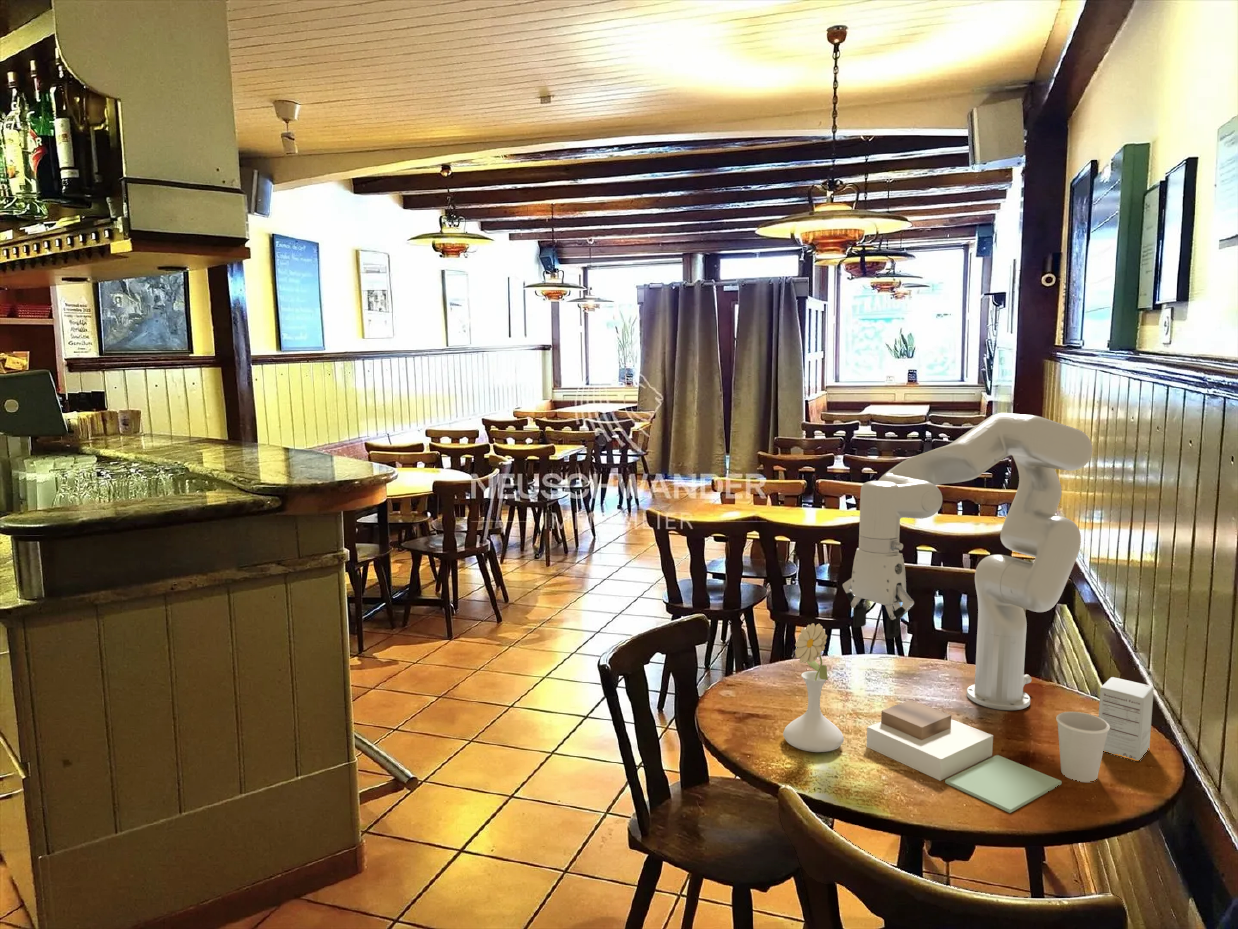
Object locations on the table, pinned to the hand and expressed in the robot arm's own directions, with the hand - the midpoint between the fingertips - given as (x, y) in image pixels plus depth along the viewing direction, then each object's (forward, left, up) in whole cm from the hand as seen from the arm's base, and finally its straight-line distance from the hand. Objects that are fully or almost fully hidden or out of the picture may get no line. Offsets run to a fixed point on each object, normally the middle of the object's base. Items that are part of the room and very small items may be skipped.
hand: (875, 631), depth 168 cm
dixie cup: (-14, +34, -20) cm, 42 cm away
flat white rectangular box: (0, +13, -20) cm, 24 cm away
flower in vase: (+16, -1, -20) cm, 26 cm away
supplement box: (-30, +34, -20) cm, 50 cm away
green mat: (0, +28, -20) cm, 34 cm away
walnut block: (0, +10, -16) cm, 19 cm away
